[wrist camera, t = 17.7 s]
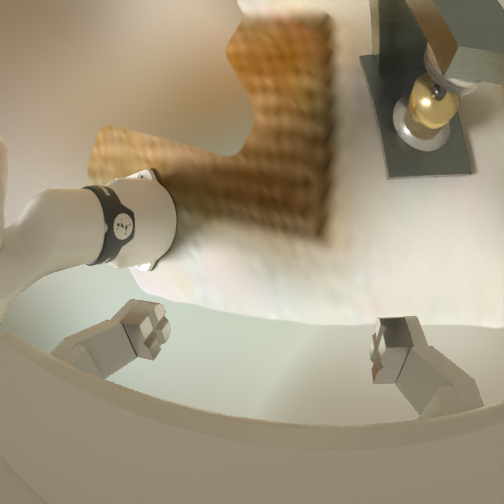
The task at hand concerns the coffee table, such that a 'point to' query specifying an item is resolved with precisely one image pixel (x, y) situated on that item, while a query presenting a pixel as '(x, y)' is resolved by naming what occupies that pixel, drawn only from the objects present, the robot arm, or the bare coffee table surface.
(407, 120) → the bottle
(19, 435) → the robot arm
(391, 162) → the press
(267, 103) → the coffee table surface
